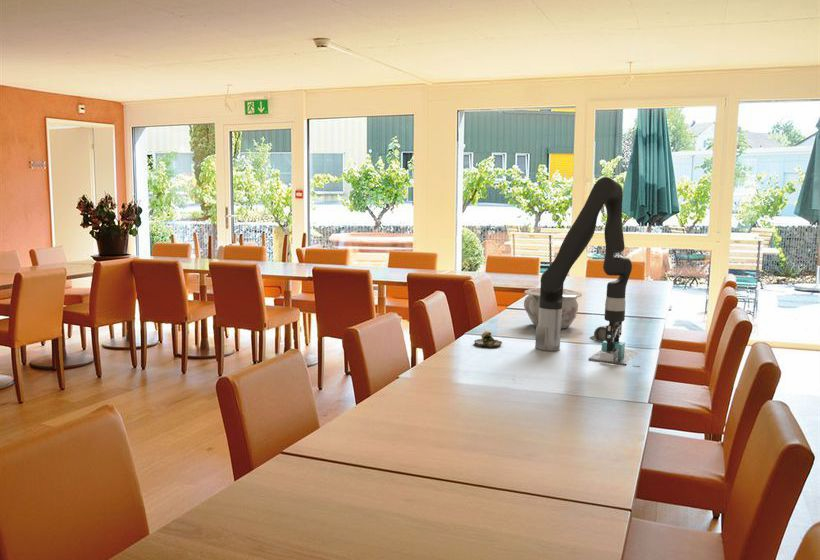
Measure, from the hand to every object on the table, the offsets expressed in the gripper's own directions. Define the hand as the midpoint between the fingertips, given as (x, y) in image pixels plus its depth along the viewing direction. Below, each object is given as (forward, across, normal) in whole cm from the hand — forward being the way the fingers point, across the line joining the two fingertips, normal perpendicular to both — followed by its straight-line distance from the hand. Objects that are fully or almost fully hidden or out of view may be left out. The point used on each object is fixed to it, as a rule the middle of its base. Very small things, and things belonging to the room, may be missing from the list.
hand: (612, 349), depth 273 cm
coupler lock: (+3, 0, 0) cm, 3 cm away
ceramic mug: (+5, +32, +13) cm, 35 cm away
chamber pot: (+5, +50, +44) cm, 67 cm away
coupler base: (+4, +6, 0) cm, 7 cm away
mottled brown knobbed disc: (+4, -7, +50) cm, 51 cm away
